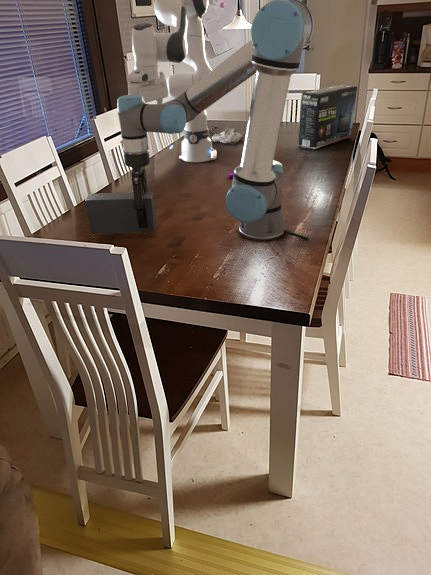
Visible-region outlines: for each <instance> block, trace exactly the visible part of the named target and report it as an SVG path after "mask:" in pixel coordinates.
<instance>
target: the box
mask: <svg viewBox="0 0 431 575" xmlns="http://www.w3.org/2000/svg"><path fill="white" fill-rule="evenodd" d="M154 200H155V198H154V191H148V192H144V204H145V208H146V216H147V224H148V228H139V224H138V216H137V209H134V207H135V200H134V191H133V192H103V193H102V192H101V193H100V192H99V193H88V195H87V197H86V198H85V199H84V202H85V208H86V216H87V219H88V225H89V230H90V235H100V234H101V235H103V234H104V235H106V234H132V233H133V234H134V233H135V234H136V233H155V232H156V227H157V219H156V209H155V201H154Z"/></svg>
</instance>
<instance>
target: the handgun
mask: <svg viewBox="0 0 431 575" xmlns="http://www.w3.org/2000/svg"><path fill="white" fill-rule="evenodd" d="M233 176H234V172H232V173H227V178H228V179H233Z"/></svg>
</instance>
